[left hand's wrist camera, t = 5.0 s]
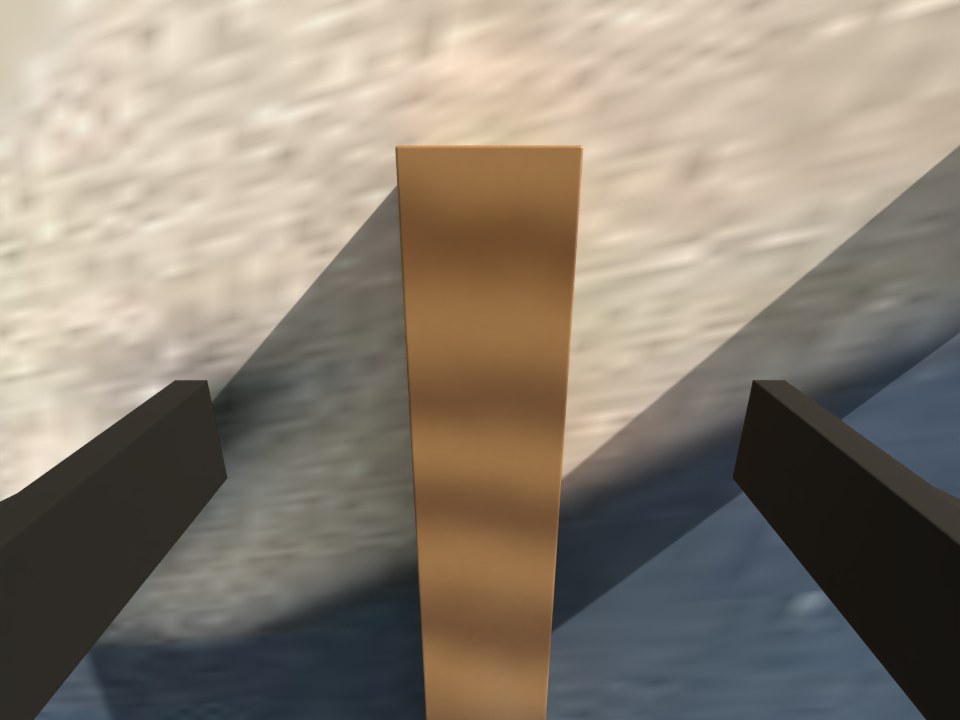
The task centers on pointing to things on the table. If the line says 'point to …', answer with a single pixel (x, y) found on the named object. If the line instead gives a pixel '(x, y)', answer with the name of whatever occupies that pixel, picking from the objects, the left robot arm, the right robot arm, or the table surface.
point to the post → (487, 411)
